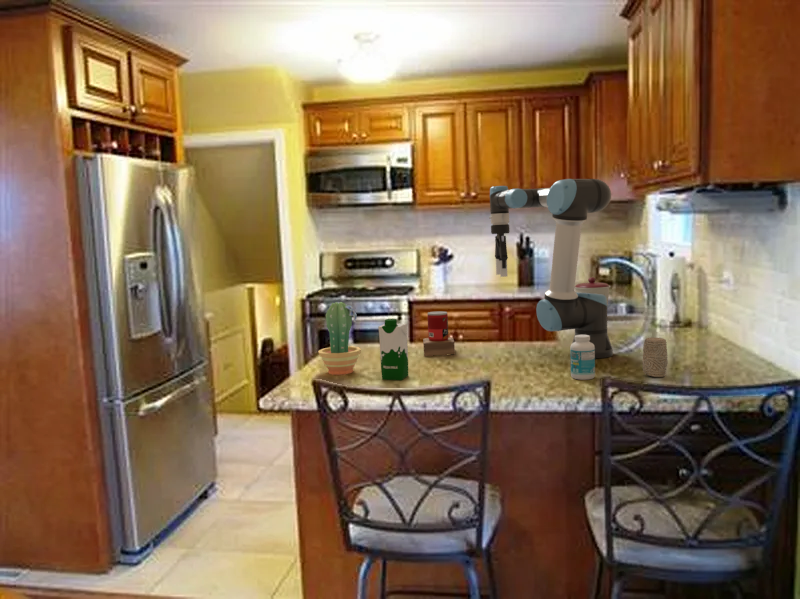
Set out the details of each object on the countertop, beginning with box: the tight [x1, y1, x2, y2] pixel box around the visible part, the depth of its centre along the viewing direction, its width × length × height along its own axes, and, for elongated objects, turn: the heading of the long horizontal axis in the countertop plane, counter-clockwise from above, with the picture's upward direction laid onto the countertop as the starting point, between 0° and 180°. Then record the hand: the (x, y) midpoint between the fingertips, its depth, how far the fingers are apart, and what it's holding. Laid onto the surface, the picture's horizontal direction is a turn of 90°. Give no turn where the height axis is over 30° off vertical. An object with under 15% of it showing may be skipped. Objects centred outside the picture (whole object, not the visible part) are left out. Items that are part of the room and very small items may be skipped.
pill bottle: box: [569, 334, 596, 381], centre depth 210 cm, size 8×7×14 cm
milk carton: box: [378, 318, 409, 381], centre depth 222 cm, size 9×9×20 cm
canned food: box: [427, 310, 449, 341], centre depth 264 cm, size 8×8×11 cm
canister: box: [574, 276, 611, 306], centre depth 339 cm, size 18×18×21 cm
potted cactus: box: [318, 301, 362, 376], centre depth 236 cm, size 15×15×25 cm
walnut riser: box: [422, 336, 456, 357], centre depth 264 cm, size 12×12×5 cm
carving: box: [642, 336, 669, 378], centre depth 207 cm, size 6×8×12 cm
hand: (501, 275), depth 276 cm, fingers open, 13 cm apart
